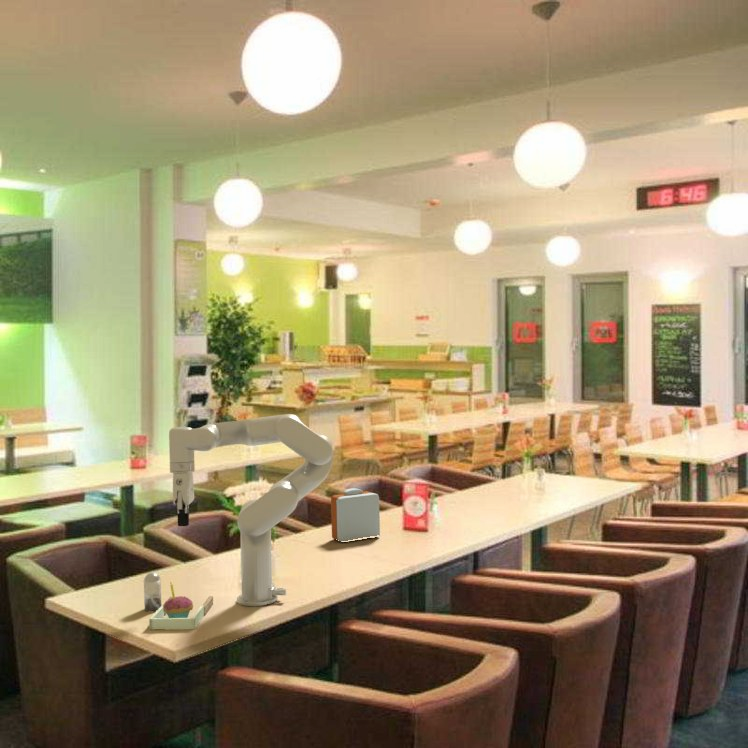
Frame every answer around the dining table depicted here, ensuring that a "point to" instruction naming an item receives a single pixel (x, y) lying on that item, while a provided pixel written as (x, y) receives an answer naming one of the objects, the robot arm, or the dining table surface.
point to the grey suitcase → (355, 515)
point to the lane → (207, 604)
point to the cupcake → (177, 606)
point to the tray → (175, 620)
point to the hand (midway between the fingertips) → (183, 525)
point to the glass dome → (152, 592)
